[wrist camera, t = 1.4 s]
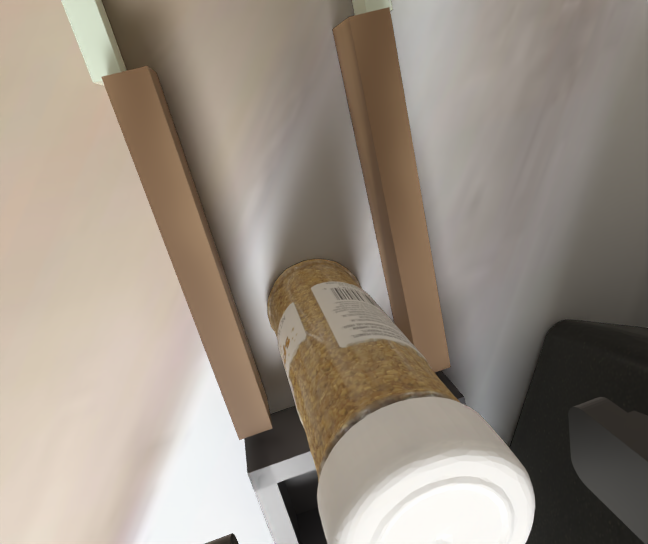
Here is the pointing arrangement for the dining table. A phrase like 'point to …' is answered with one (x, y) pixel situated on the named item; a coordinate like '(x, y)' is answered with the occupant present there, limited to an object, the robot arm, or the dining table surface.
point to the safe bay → (102, 45)
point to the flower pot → (553, 425)
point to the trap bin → (291, 477)
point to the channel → (381, 185)
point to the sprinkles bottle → (388, 425)
